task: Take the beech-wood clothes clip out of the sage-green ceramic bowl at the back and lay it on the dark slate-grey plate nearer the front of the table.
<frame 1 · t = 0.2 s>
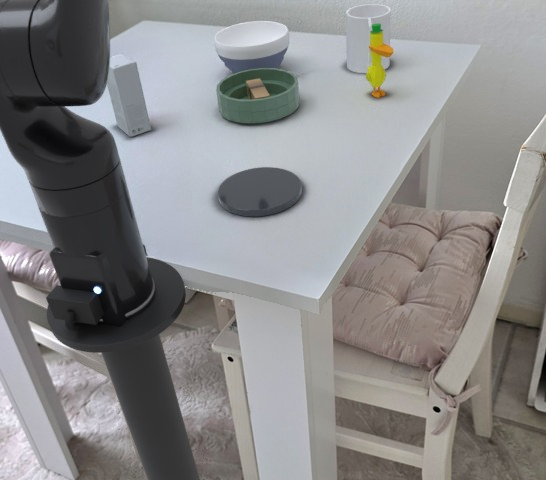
cup: (368, 69, 127), on the table
bowl: (255, 73, 131), on the table
cosmetic box: (134, 129, 116), on the table
toy figure: (378, 96, 117), on the table
clip: (259, 105, 117), point 1 cm above the table, touching green bowl
green bowl: (259, 108, 117), on the table
plate: (260, 193, 95), on the table
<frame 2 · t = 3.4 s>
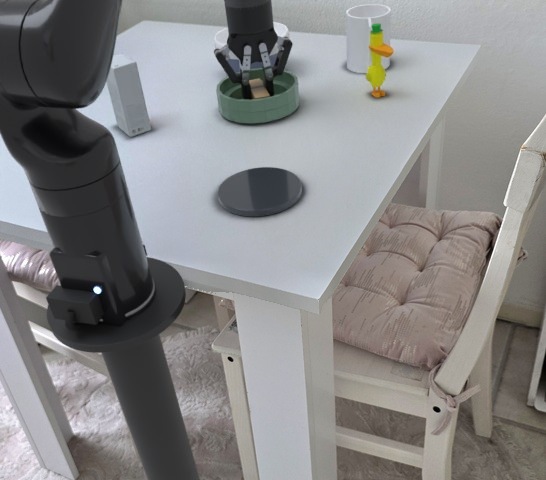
hand: (259, 101, 117), 1 cm above the table, tool pointing down, fingers closed on clip, 2 cm apart
clip: (259, 105, 117), point 1 cm above the table, touching green bowl, gripper
everything else where it was.
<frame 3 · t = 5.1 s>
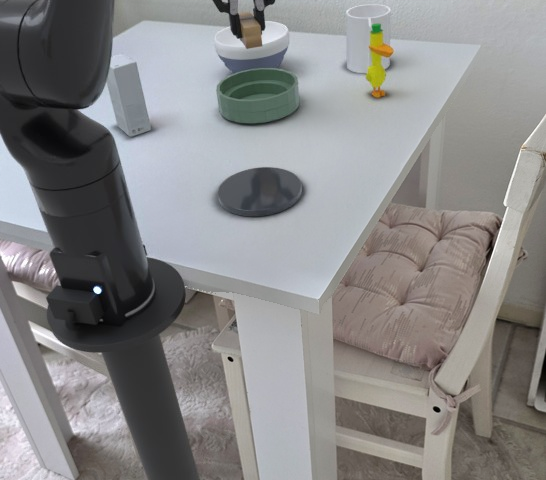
hand: (248, 35, 106), 14 cm above the table, tool pointing down, fingers closed on clip, 2 cm apart
clip: (249, 39, 107), point 13 cm above the table, touching gripper
everything else where it was.
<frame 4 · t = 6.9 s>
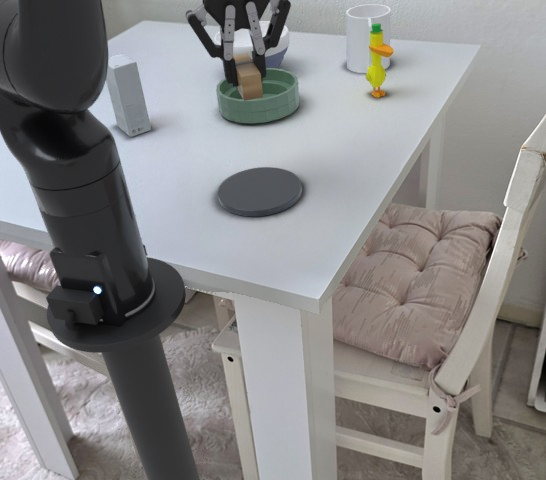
hand: (246, 82, 89), 15 cm above the table, tool pointing down, fingers closed on clip, 2 cm apart
clip: (247, 87, 89), point 14 cm above the table, touching gripper
everything else where it was.
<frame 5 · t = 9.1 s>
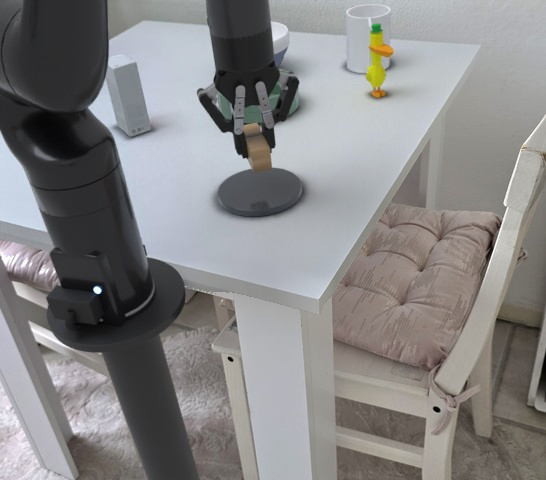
hand: (256, 152, 91), 6 cm above the table, tool pointing down, fingers closed on clip, 2 cm apart
clip: (256, 157, 91), point 6 cm above the table, touching gripper
everything else where it was.
when the fingers open (2 cm above the table, at t = 10.5 s): clip stays where it is, resting on plate.
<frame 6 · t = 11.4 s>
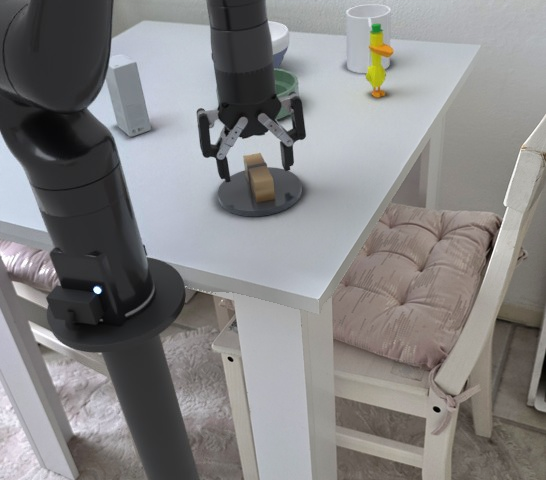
hand: (257, 173, 93), 3 cm above the table, tool pointing down, fingers open, 8 cm apart
clip: (260, 187, 94), point 1 cm above the table, touching plate
everything else where it was.
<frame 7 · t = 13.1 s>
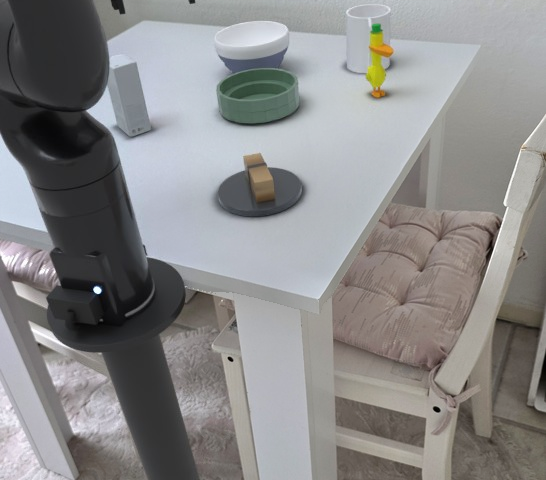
hand: (157, 7, 81), 26 cm above the table, tool pointing down, fingers open, 8 cm apart
nothing on the table moved.
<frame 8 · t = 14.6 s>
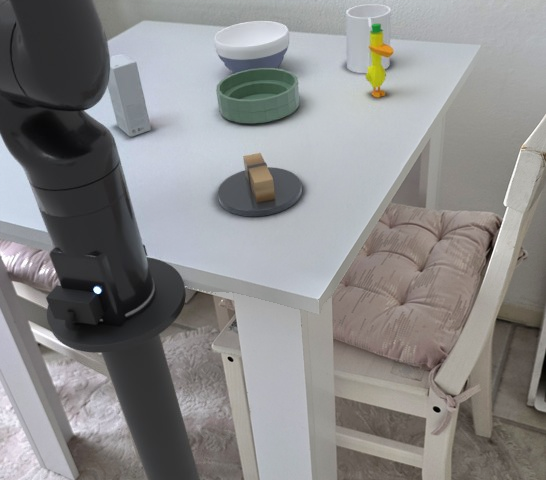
nothing on the table moved.
at the end: clip inside the target area on the plate (0.1 cm from its centre), point 1.0 cm above the plate's base; clip tilted 1° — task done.
